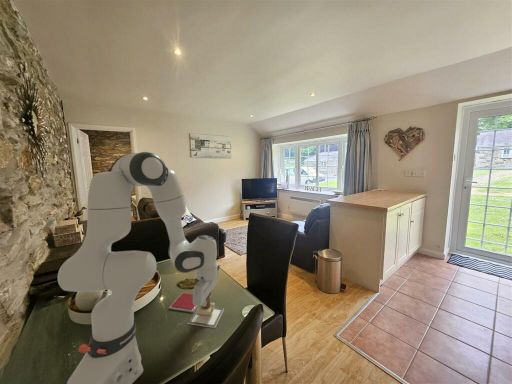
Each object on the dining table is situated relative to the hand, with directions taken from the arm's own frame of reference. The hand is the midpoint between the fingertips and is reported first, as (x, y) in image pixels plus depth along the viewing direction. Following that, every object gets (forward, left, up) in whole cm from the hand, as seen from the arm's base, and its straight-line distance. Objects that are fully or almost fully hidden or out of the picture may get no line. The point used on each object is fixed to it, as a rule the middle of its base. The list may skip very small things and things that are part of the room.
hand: (206, 302), depth 94 cm
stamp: (0, 0, -4) cm, 5 cm away
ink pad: (+7, +13, -7) cm, 16 cm away
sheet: (0, 0, -7) cm, 7 cm away
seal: (+23, +19, -7) cm, 31 cm away
